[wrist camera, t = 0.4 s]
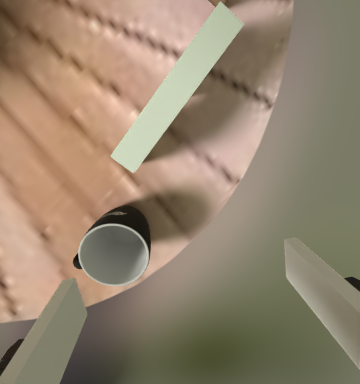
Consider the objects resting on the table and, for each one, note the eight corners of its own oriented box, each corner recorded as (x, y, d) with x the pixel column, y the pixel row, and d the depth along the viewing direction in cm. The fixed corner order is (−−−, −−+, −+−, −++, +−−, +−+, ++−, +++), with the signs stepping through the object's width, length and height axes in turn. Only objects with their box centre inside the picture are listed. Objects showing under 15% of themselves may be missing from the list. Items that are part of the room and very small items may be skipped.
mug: (137, 189, 39) (128, 211, 29) (162, 235, 41) (161, 269, 32) (72, 221, 40) (42, 252, 30) (100, 264, 42) (81, 306, 32)
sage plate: (123, 152, 37) (104, 164, 26) (206, 36, 34) (227, -10, 22) (139, 163, 38) (128, 180, 26) (222, 51, 34) (251, 14, 23)
